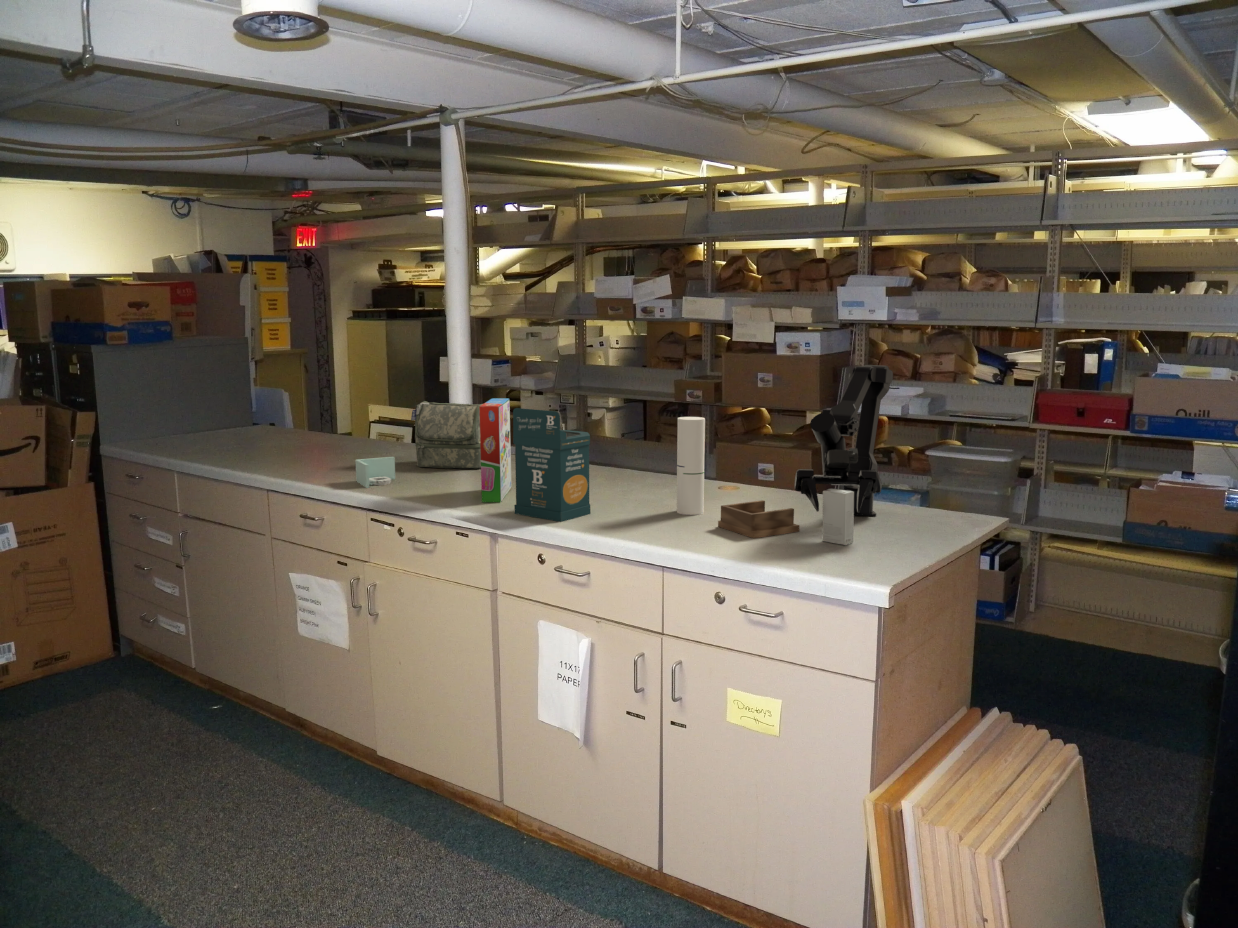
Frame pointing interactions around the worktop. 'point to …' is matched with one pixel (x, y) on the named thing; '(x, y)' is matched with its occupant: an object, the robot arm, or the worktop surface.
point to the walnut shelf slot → (757, 519)
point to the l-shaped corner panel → (375, 471)
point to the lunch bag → (447, 435)
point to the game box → (495, 449)
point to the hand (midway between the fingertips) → (838, 511)
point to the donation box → (550, 467)
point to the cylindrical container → (690, 465)
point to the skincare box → (838, 516)
